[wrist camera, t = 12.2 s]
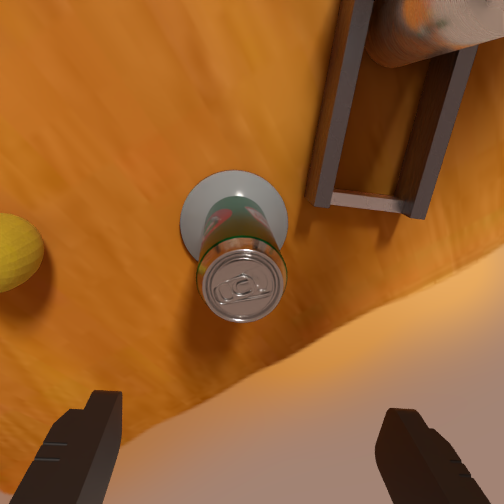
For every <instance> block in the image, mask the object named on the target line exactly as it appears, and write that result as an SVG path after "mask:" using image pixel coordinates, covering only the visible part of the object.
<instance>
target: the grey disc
mask: <svg viewBox="0 0 504 504" xmlns="http://www.w3.org/2000/svg"><path fill="white" fill-rule="evenodd" d="M229 196H242V197H246V198H249V199H251V200H253V201H254V202H255V203H257V204H258V205H259V206H260V208H261V209H262V211H263V212H264V214H265V217H266V219H267V222H268V224H269V226H270V229H271V231H272V233H273V236H274V238H275V240H276V243H277V245H278V248H279V250H280V249H281V247H282V245H283V243H284V241H285V238H286V234H287V229H288V216H287V211H286V207H285V204H284V202H283V200H282V198H281V196H280V195H279V193H278V192H277V191H276V189H275V188H274V187H273V186H272V185H271V184H270V183H269V182H268V181H266V180H265V179H263V178H262V177H260V176H258V175H256V174H253V173H250V172H247V171H242V170H226V171H221V172H218V173H215V174H212V175H210V176H208V177H206V178H205V179H203V180H202V181H200V182H199V183H198V184H197V185H196V186H195V187H194V188H193V189H192V191H191V192H190V193H189V195H188V197H187V198H186V201H185V203H184V205H183V208H182V212H181V218H180V228H181V234H182V238H183V241H184V243H185V246H186V247H187V249H188V251H189V252H190V254H191V255H192V256H193V257H194V258H195V259H196V260H197V261H198V260H199V255H200V249H201V243H202V237H203V231H204V226H205V220H206V216H207V214H208V212H209V210H210V209H211V207H212V206H213V205H214V204H215V203H216V202H218V201H219V200H221V199H223V198H226V197H229Z"/></svg>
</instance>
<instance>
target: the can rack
mask: <svg viewBox="0 0 504 504" xmlns="http://www.w3.org/2000/svg"><path fill="white" fill-rule="evenodd" d="M373 2H374V0H341V4H340V9H339V14H338V20H337V25H336V30H335V36H334V41H333V46H332V52H331V57H330V62H329V68H328V73H327V78H326V84H325V89H324V94H323V100H322V105H321V110H320V116H319V121H318V126H317V132H316V137H315V142H314V148H313V153H312V158H311V164H310V169H309V174H308V180H307V185H306V190H305V196H304V197H305V198H306V199H307V200H308V201H309V202H310V203H311V204H312V205H313V206H315V207H323V208H330V205H338V206H346V207H355V208H363V209H371V210H379V211H388V212H396V213H402V214H404V215H406V216H407V217H409V218H414V219H423V220H425V217H426V214H427V210H428V207H429V204H430V201H431V197H432V194H433V191H434V188H435V184H436V181H437V178H438V175H439V171H440V168H441V165H442V162H443V158H444V155H445V152H446V149H447V146H448V142H449V139H450V136H451V133H452V129H453V126H454V123H455V120H456V116H457V113H458V110H459V107H460V103H461V100H462V97H463V94H464V91H465V87H466V84H467V81H468V78H469V74H470V71H471V68H472V65H473V61H474V58H475V55H476V52H477V48H478V45H479V44H477V45H474V46H470V47H467V48H463V49H460V50H456V51H453V52H449V53H446V54H442V55H439V56H435V57H432V58H431V61H430V65H429V69H428V72H427V76H426V80H425V83H424V87H423V91H422V94H421V98H420V102H419V105H418V109H417V113H416V116H415V120H414V124H413V127H412V131H411V135H410V138H409V142H408V146H407V149H406V153H405V157H404V160H403V164H402V168H401V171H400V175H399V179H398V182H397V186H396V190H395V193H394V196H389V195H381V194H374V193H366V192H358V191H350V190H342V189H334V184H335V180H336V175H337V170H338V166H339V161H340V156H341V152H342V147H343V142H344V138H345V133H346V128H347V124H348V119H349V114H350V110H351V105H352V100H353V96H354V91H355V86H356V82H357V77H358V72H359V68H360V63H361V58H362V53H363V49H364V44H365V39H366V35H367V30H368V25H369V21H370V16H371V11H372V7H373Z"/></svg>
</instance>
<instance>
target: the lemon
mask: <svg viewBox="0 0 504 504" xmlns="http://www.w3.org/2000/svg"><path fill="white" fill-rule="evenodd" d="M43 256H44V242H43V239H42V237H41V234H40V233H39V231H38V230H37V229H36V227H34V226H33V225H32V224H31V223H30V222H28V221H27V220H25V219H23V218H21V217H19V216H16V215H13V214H6V213H0V293H1V292H5V291H8V290H11V289H13V288H15V287H17V286H19V285H21V284H22V283H24V282H26V281H27V280H28V279H29V278H30V277H31V276H32V275H33V274H34V273H35V272H36V271H37V270H38V268H39V266H40V264H41V262H42V260H43Z"/></svg>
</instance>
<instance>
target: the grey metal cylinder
mask: <svg viewBox="0 0 504 504" xmlns="http://www.w3.org/2000/svg"><path fill="white" fill-rule="evenodd" d="M501 37H504V0H376V1H375V2H374V3H373V7H372V11H371V16H370V21H369V25H368V30H367V35H366V39H365V44H364V47H365V49H366V52H367V53H368V55H369V57H370V58H371V59H372V60H373V61H374V62H375V63H377V64H379V65H381V66H383V67H387V68H396V67H400V66H404V65H407V64H411V63H414V62H418V61H421V60H425V59H428V58H432V57H435V56H439V55H442V54H446V53H449V52H453V51H456V50H460V49H463V48H467V47H470V46H474V45H477V44H480V43H484V42H487V41H491V40H494V39H498V38H501Z"/></svg>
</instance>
